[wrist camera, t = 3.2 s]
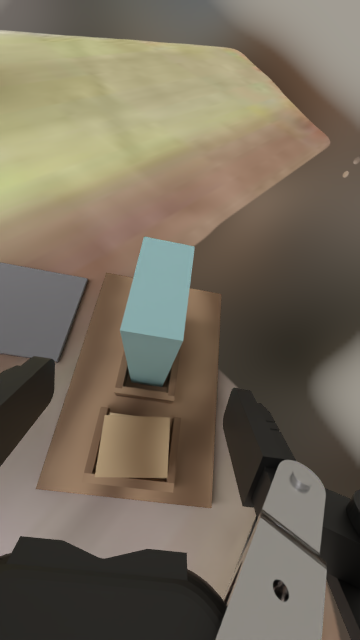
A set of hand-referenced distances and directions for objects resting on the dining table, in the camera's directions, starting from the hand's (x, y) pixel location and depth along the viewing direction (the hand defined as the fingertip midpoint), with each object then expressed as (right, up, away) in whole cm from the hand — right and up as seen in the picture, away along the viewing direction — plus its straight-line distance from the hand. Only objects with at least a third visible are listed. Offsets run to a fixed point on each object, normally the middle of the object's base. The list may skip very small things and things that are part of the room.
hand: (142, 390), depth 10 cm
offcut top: (-2, -7, +8) cm, 10 cm away
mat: (-15, +4, +14) cm, 21 cm away
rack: (-1, -2, +13) cm, 14 cm away
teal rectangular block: (-1, 0, +13) cm, 13 cm away
